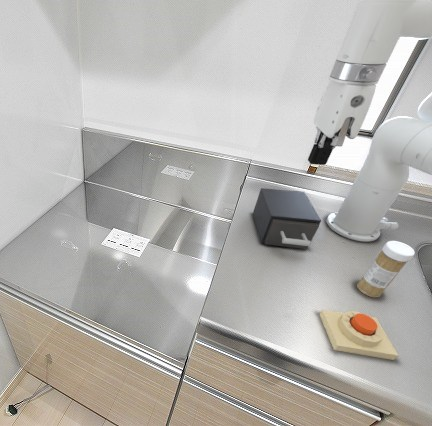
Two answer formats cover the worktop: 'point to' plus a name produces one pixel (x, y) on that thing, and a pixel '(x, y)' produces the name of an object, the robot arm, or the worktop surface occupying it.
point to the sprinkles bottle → (385, 268)
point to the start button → (363, 324)
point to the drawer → (291, 233)
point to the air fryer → (281, 209)
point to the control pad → (356, 336)
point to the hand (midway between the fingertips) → (316, 162)
